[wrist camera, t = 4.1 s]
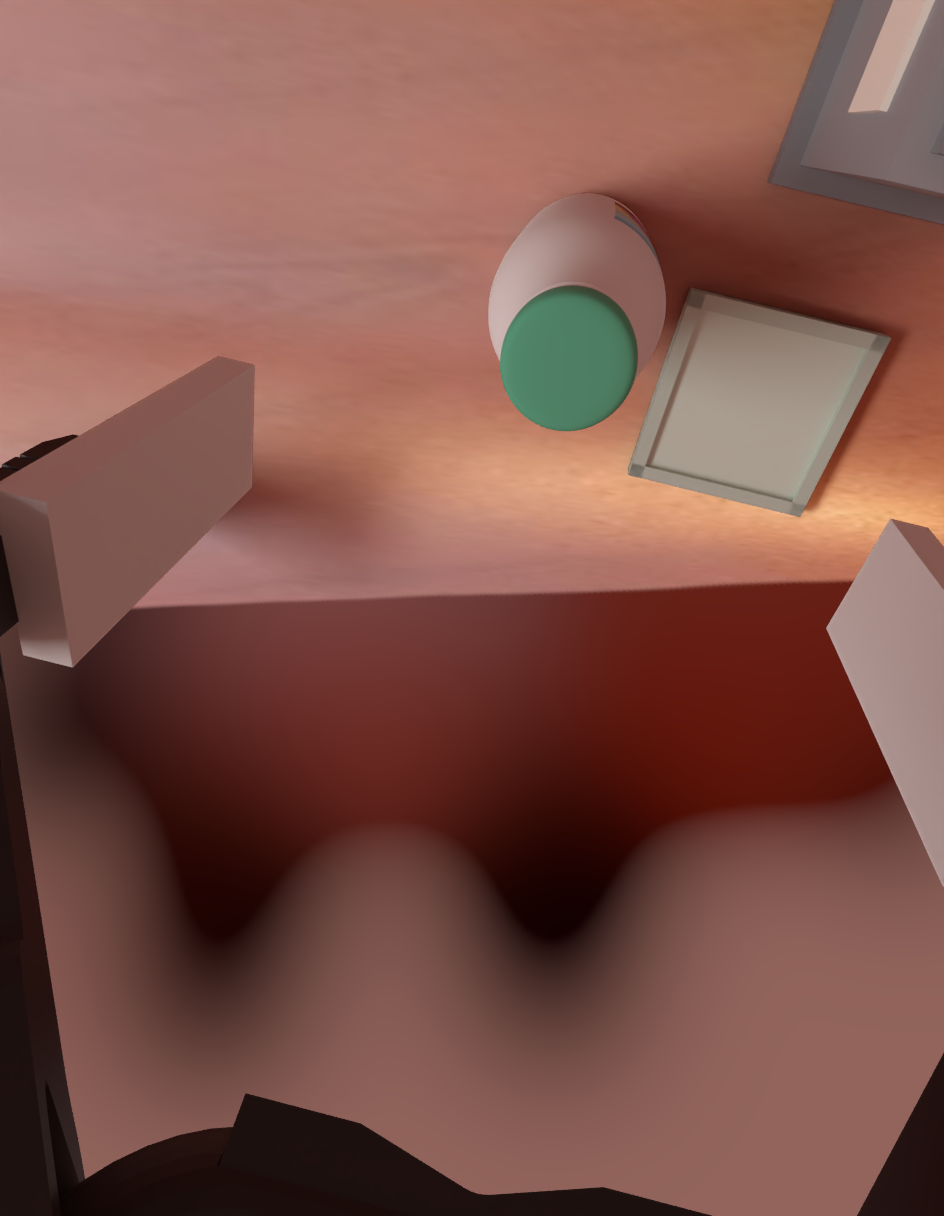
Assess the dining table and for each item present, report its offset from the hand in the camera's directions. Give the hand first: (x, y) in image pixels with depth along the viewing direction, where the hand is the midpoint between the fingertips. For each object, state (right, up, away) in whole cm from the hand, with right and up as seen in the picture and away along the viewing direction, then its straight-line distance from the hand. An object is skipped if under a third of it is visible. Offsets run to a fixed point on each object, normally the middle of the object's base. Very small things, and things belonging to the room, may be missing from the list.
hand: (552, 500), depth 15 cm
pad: (+15, +10, +28) cm, 33 cm away
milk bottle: (+5, +17, +26) cm, 31 cm away
